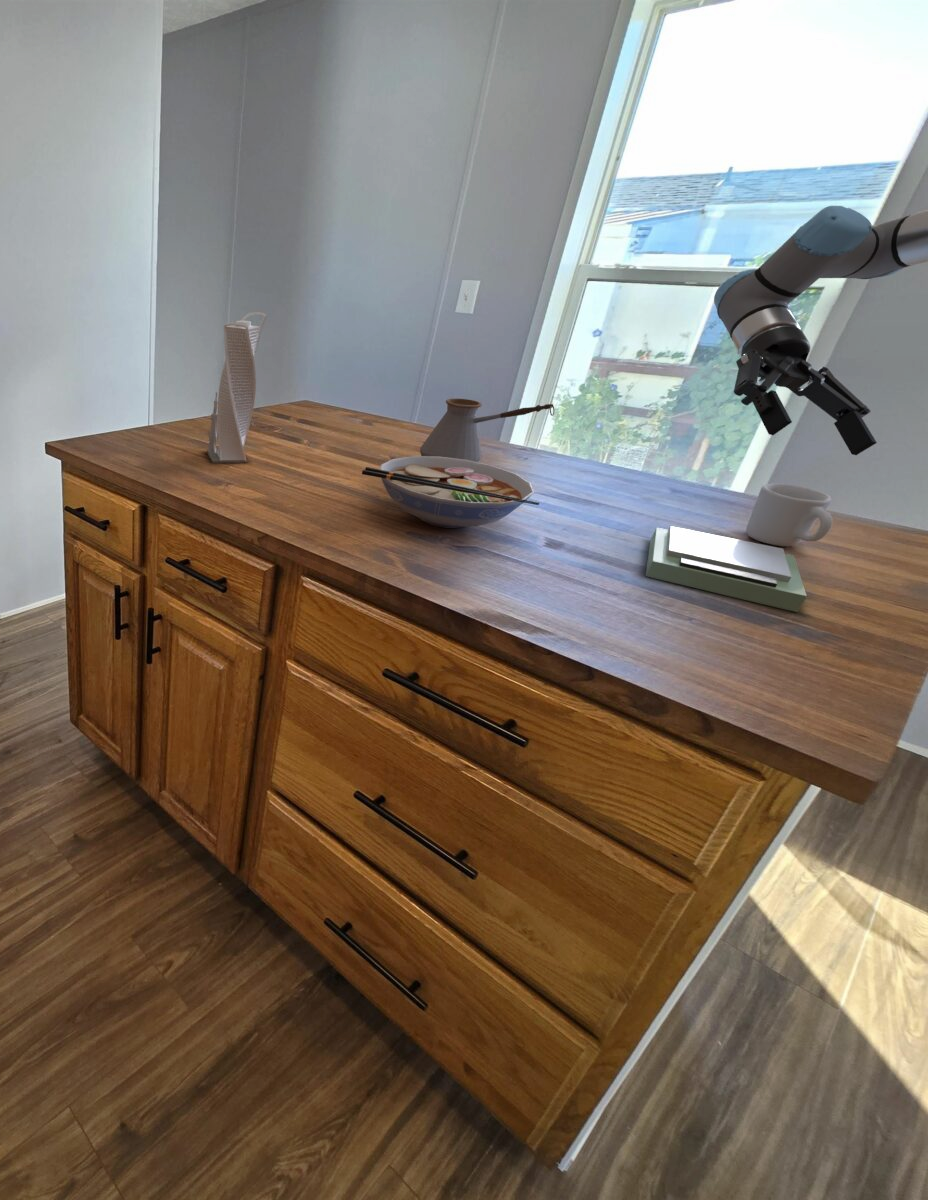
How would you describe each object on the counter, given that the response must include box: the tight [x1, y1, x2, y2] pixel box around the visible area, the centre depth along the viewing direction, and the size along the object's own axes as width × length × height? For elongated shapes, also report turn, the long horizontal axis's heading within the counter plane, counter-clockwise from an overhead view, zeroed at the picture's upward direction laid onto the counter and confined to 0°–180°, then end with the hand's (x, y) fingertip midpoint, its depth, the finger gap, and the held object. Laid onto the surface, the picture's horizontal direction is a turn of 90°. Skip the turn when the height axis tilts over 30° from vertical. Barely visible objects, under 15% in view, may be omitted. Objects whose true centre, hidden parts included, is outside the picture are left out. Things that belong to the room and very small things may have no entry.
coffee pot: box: [419, 397, 555, 462], centre depth 126 cm, size 21×12×15 cm, turn 46°
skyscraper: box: [206, 311, 268, 464], centre depth 129 cm, size 8×8×28 cm
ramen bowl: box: [361, 455, 540, 529], centre depth 106 cm, size 25×23×8 cm
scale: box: [645, 525, 808, 613], centre depth 92 cm, size 16×15×3 cm
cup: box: [745, 483, 834, 547], centre depth 100 cm, size 11×8×8 cm
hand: (822, 438), depth 96 cm, fingers open, 13 cm apart
